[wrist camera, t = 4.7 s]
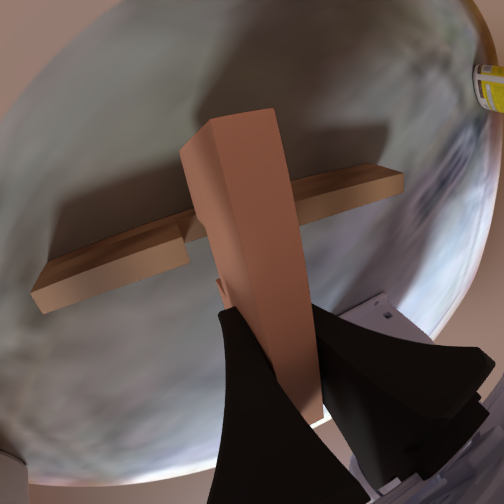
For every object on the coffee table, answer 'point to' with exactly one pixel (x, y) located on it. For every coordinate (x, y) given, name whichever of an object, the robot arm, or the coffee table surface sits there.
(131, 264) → the walnut board
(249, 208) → the tan flat plank
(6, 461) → the beverage can
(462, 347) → the robot arm
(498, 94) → the supplement bottle
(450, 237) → the coffee table surface
